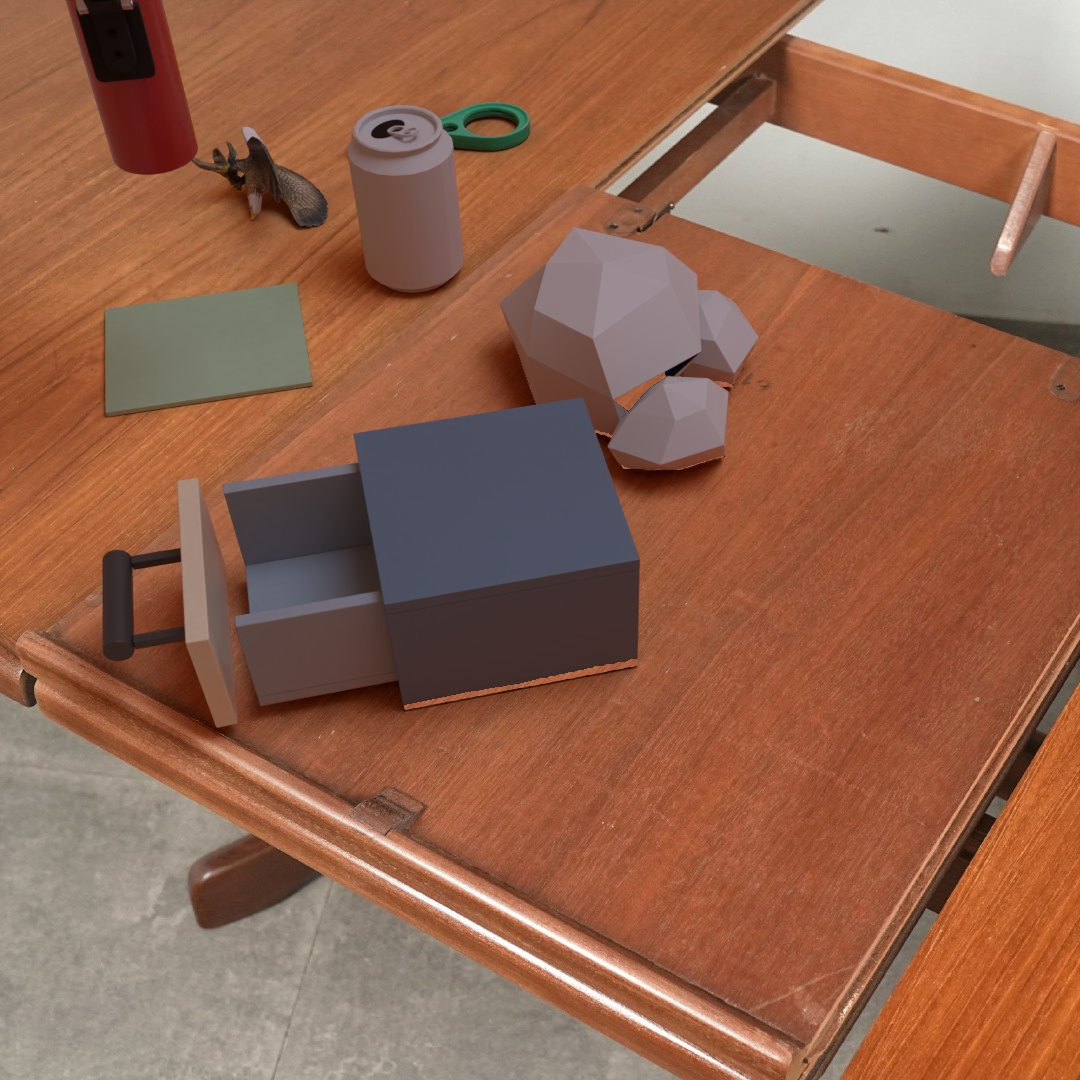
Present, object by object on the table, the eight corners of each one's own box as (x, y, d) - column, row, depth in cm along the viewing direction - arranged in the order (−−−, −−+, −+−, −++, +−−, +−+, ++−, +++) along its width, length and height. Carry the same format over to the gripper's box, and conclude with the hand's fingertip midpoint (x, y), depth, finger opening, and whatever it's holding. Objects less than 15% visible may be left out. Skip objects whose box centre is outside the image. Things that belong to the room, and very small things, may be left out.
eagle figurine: (187, 212, 108) (274, 224, 104) (191, 116, 106) (279, 125, 102) (255, 219, 115) (340, 231, 111) (260, 130, 113) (346, 138, 109)
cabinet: (404, 711, 77) (384, 604, 71) (373, 542, 86) (353, 433, 79) (637, 667, 80) (640, 559, 73) (585, 506, 88) (583, 396, 81)
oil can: (112, 179, 81) (52, -19, 72) (113, 136, 84) (55, -60, 75) (199, 170, 81) (150, -28, 73) (197, 127, 85) (149, -68, 76)
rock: (756, 312, 102) (767, 197, 94) (756, 501, 89) (770, 384, 81) (511, 301, 102) (503, 186, 95) (476, 487, 89) (464, 370, 82)
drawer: (126, 745, 75) (87, 660, 69) (124, 581, 83) (89, 494, 77) (441, 686, 78) (428, 600, 72) (410, 533, 85) (396, 445, 80)
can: (411, 230, 109) (392, 87, 99) (484, 263, 106) (473, 118, 97) (346, 276, 104) (320, 131, 95) (421, 311, 102) (402, 165, 93)
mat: (106, 417, 94) (105, 412, 94) (106, 313, 101) (104, 308, 101) (313, 386, 96) (312, 381, 96) (297, 286, 104) (296, 282, 103)
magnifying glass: (520, 110, 121) (519, 91, 119) (538, 144, 117) (537, 126, 116) (348, 137, 118) (346, 118, 116) (362, 173, 114) (359, 154, 113)
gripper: (-44, -370, 69) (64, -8, 83) (-78, -258, 58) (53, 137, 72) (110, -378, 70) (191, -20, 84) (105, -270, 59) (199, 121, 73)
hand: (126, 49), depth 78 cm, fingers closed on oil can, 5 cm apart
